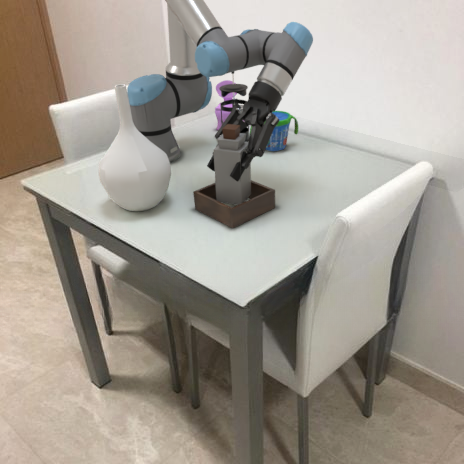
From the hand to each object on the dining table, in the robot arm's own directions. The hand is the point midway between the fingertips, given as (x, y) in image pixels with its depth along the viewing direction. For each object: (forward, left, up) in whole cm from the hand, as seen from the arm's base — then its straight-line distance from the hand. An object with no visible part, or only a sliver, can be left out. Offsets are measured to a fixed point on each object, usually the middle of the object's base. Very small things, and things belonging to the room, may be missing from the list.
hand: (222, 173), depth 121 cm
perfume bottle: (0, +3, -8) cm, 8 cm away
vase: (-21, -12, -11) cm, 26 cm away
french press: (-37, +37, -11) cm, 54 cm away
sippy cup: (-22, +40, -11) cm, 47 cm away
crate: (0, +3, -11) cm, 11 cm away
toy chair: (-49, +44, -11) cm, 67 cm away
